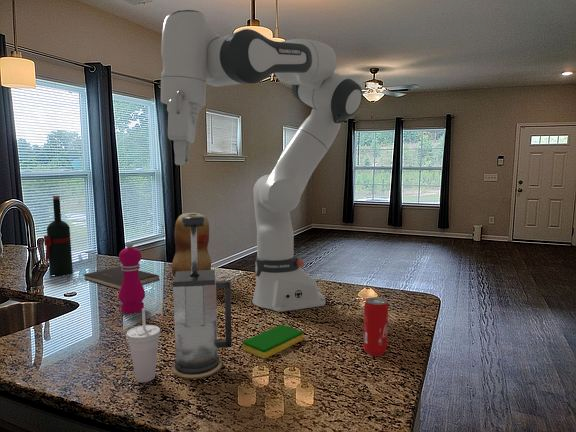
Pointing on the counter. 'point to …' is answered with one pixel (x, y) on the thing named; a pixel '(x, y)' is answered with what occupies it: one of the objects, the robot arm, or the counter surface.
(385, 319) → the beverage can
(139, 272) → the hardcover book
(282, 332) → the dish sponge
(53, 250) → the wine bottle
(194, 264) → the plunger
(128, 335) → the smoothie
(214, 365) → the press carafe
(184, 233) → the butternut squash
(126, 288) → the pepper mill
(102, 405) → the counter surface
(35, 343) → the counter surface
